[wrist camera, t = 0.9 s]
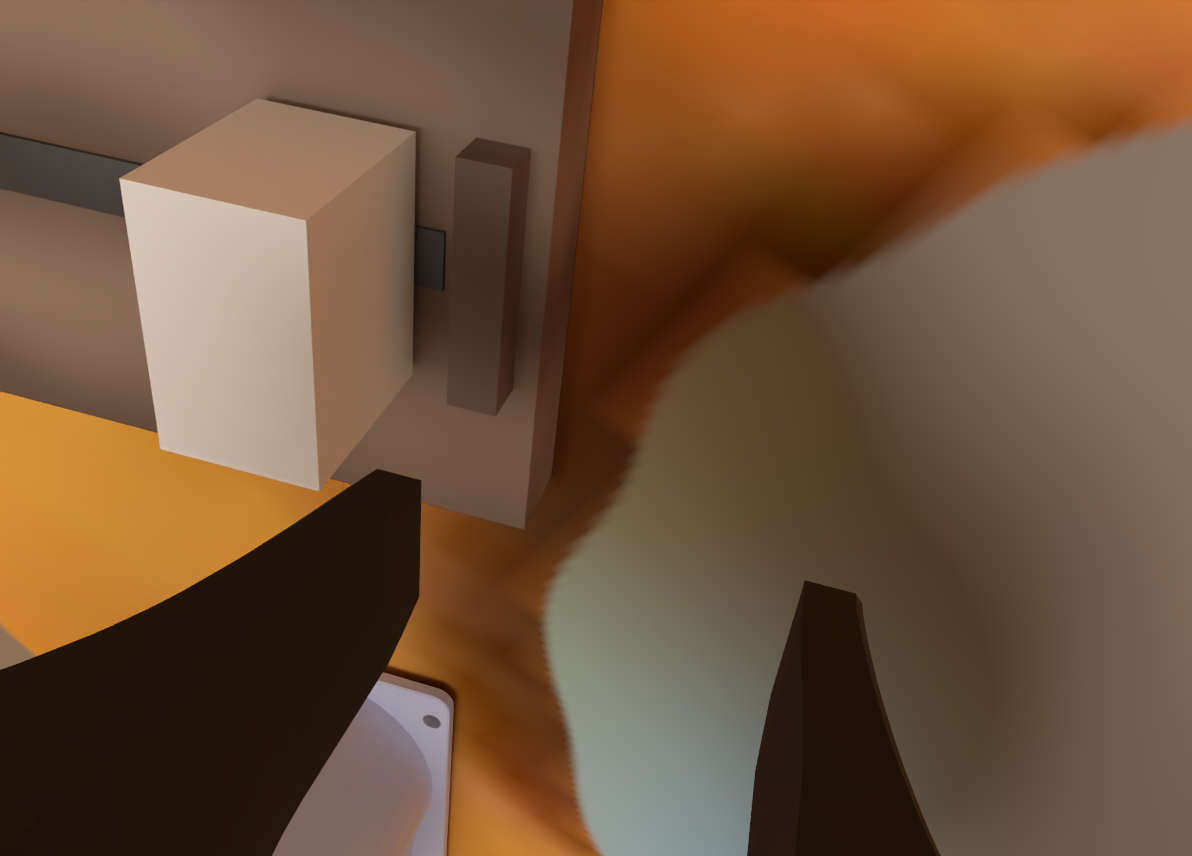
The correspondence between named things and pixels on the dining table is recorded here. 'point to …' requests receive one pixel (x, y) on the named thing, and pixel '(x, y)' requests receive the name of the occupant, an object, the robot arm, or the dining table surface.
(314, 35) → the slotted base plate
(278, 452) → the fader tab
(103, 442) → the dining table surface
